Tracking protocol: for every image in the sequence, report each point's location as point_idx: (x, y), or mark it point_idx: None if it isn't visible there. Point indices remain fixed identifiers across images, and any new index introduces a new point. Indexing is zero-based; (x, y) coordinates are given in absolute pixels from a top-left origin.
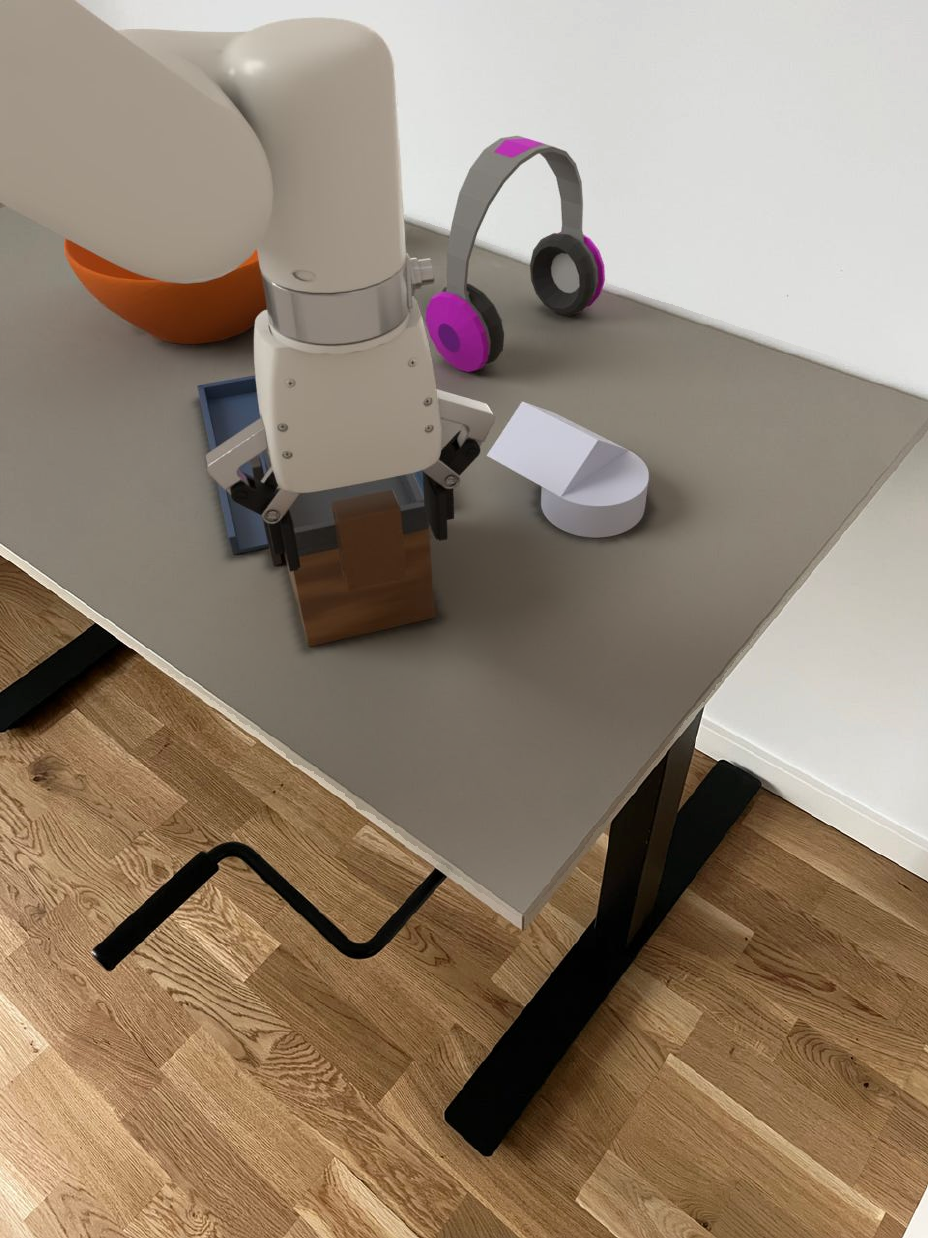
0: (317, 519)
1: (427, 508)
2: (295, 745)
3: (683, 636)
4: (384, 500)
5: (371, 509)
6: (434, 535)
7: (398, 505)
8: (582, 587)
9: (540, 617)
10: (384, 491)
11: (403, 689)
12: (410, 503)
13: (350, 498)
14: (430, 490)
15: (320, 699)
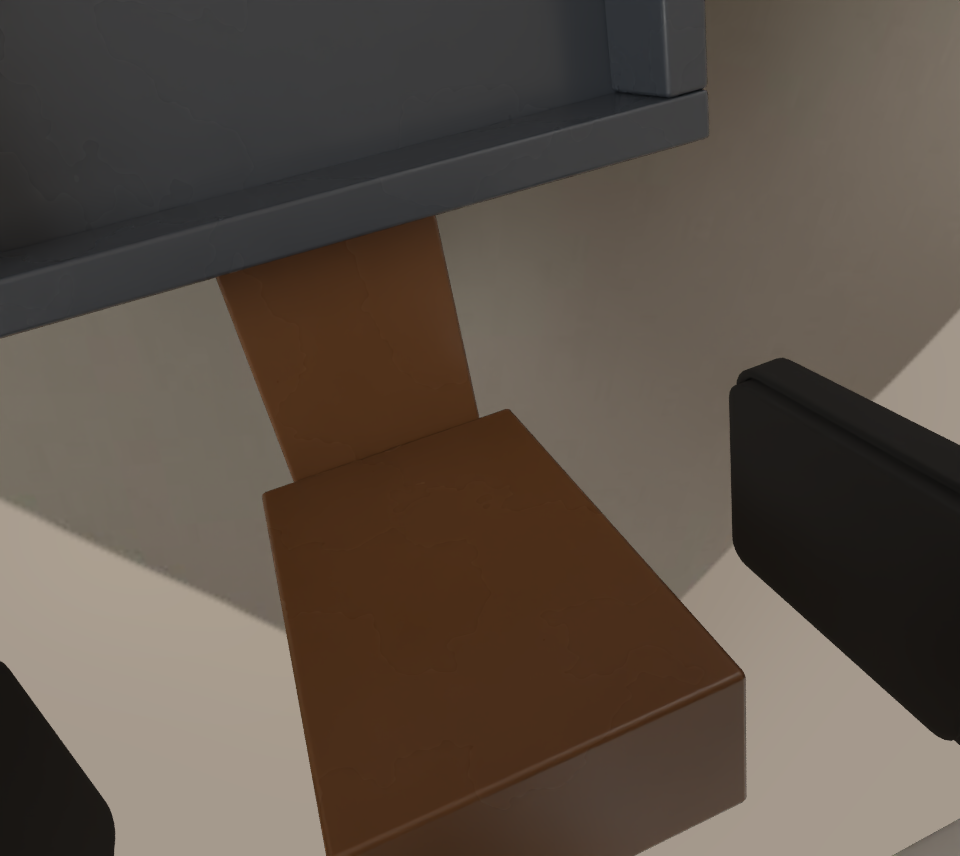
0: (18, 20)
1: (785, 471)
2: (97, 538)
3: (956, 214)
4: (677, 769)
5: (593, 849)
6: (733, 524)
7: (741, 788)
8: (846, 7)
9: (718, 121)
10: (693, 704)
11: None
12: None
13: (468, 805)
14: (932, 656)
15: (133, 400)
